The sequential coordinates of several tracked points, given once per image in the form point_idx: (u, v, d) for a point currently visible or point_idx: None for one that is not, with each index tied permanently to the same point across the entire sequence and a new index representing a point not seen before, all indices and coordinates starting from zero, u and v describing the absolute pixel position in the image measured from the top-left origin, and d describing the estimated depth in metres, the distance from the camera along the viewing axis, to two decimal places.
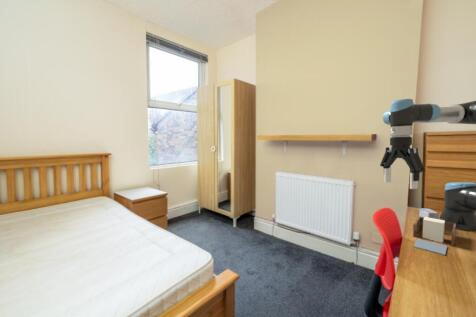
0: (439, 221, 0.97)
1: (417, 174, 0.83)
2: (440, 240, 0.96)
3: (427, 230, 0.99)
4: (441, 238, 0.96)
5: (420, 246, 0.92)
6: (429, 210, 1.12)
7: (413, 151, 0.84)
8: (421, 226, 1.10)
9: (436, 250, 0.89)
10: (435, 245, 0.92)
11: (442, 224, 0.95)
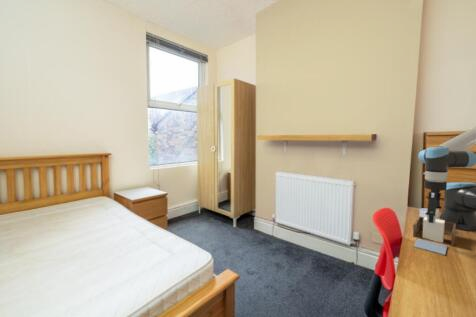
0: (439, 221, 0.97)
1: (430, 217, 0.93)
2: (440, 240, 0.96)
3: (427, 230, 0.99)
4: (441, 238, 0.96)
5: (420, 246, 0.92)
6: None
7: (430, 196, 0.94)
8: (421, 226, 1.10)
9: (436, 250, 0.89)
10: (435, 245, 0.92)
11: (442, 224, 0.95)
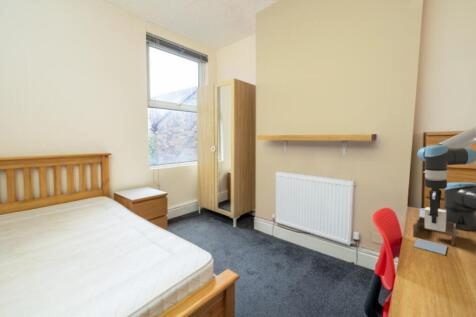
0: (441, 210, 0.97)
1: (433, 217, 0.96)
2: (442, 229, 0.96)
3: (429, 220, 0.99)
4: (443, 227, 0.95)
5: (420, 246, 0.92)
6: None
7: (431, 198, 0.94)
8: (421, 226, 1.10)
9: (436, 250, 0.89)
10: (435, 245, 0.92)
11: (444, 213, 0.95)
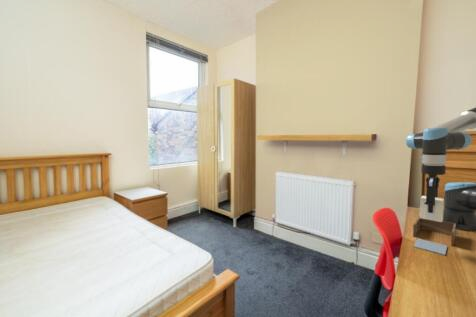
0: (438, 199, 0.89)
1: (430, 206, 0.88)
2: (439, 219, 0.88)
3: (425, 209, 0.91)
4: (440, 217, 0.87)
5: (420, 246, 0.92)
6: None
7: (428, 184, 0.86)
8: (421, 226, 1.10)
9: (436, 250, 0.89)
10: (435, 245, 0.92)
11: (441, 202, 0.87)
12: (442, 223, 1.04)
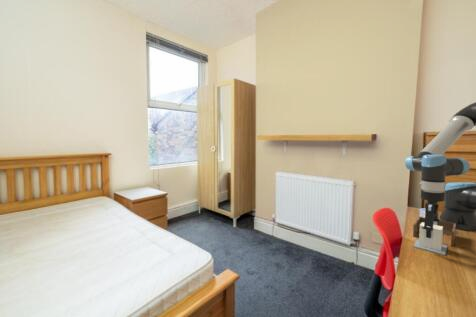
0: (437, 227, 0.90)
1: (428, 231, 0.87)
2: (438, 248, 0.89)
3: None
4: (439, 246, 0.88)
5: (420, 246, 0.92)
6: None
7: (427, 208, 0.87)
8: None
9: (436, 250, 0.89)
10: None
11: (440, 231, 0.88)
12: (442, 223, 1.04)
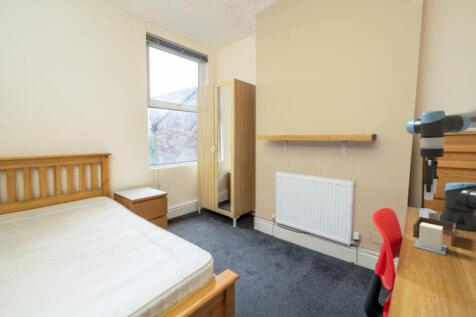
0: (437, 227, 0.90)
1: (428, 186, 0.86)
2: (438, 248, 0.89)
3: (424, 237, 0.92)
4: (439, 246, 0.88)
5: (420, 246, 0.92)
6: (429, 210, 1.12)
7: (427, 163, 0.87)
8: None
9: (436, 250, 0.89)
10: None
11: (440, 231, 0.88)
12: (442, 223, 1.04)
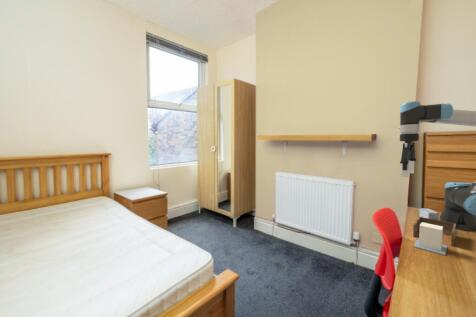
0: (437, 227, 0.90)
1: (404, 164, 1.02)
2: (438, 248, 0.89)
3: (424, 237, 0.92)
4: (439, 246, 0.88)
5: (420, 246, 0.92)
6: (429, 210, 1.12)
7: (404, 146, 1.03)
8: None
9: (436, 250, 0.89)
10: None
11: (440, 231, 0.88)
12: (442, 223, 1.04)
